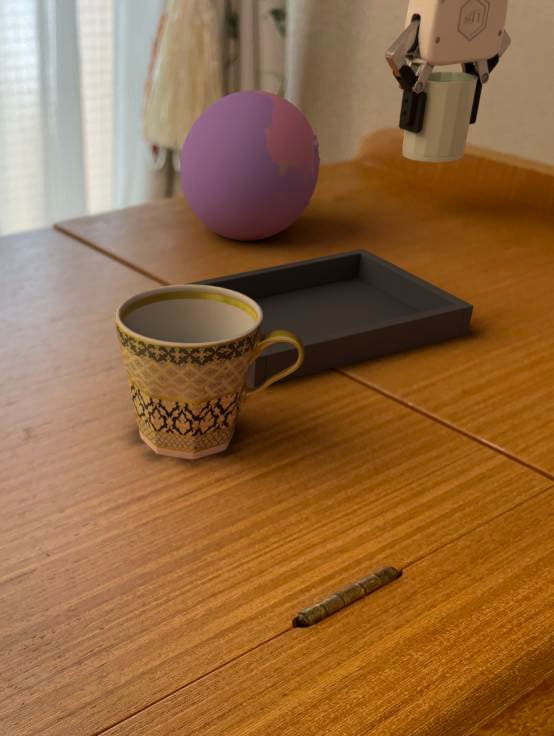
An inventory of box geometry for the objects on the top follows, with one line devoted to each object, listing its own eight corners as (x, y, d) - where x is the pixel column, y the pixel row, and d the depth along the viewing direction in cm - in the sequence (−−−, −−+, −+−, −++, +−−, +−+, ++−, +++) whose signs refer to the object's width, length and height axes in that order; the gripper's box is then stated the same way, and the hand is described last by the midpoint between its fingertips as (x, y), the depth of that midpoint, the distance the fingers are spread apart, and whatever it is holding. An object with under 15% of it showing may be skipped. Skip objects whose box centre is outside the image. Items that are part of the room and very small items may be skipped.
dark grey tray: (358, 278, 89) (362, 248, 87) (466, 338, 77) (474, 305, 76) (166, 319, 82) (165, 287, 80) (253, 392, 70) (255, 357, 68)
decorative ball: (320, 260, 93) (337, 107, 84) (179, 261, 93) (180, 108, 84) (304, 215, 105) (317, 76, 95) (179, 216, 105) (180, 78, 96)
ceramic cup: (101, 464, 62) (94, 334, 56) (143, 398, 70) (140, 277, 63) (281, 493, 59) (294, 359, 53) (305, 421, 67) (318, 296, 60)
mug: (476, 157, 98) (491, 78, 93) (428, 165, 96) (441, 85, 91) (420, 139, 105) (431, 65, 100) (374, 147, 103) (383, 71, 98)
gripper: (422, -61, 81) (395, 143, 92) (561, -71, 87) (520, 122, 98) (373, -64, 87) (353, 129, 98) (507, -73, 92) (474, 111, 103)
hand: (437, 124), depth 98 cm, fingers closed on mug, 6 cm apart
